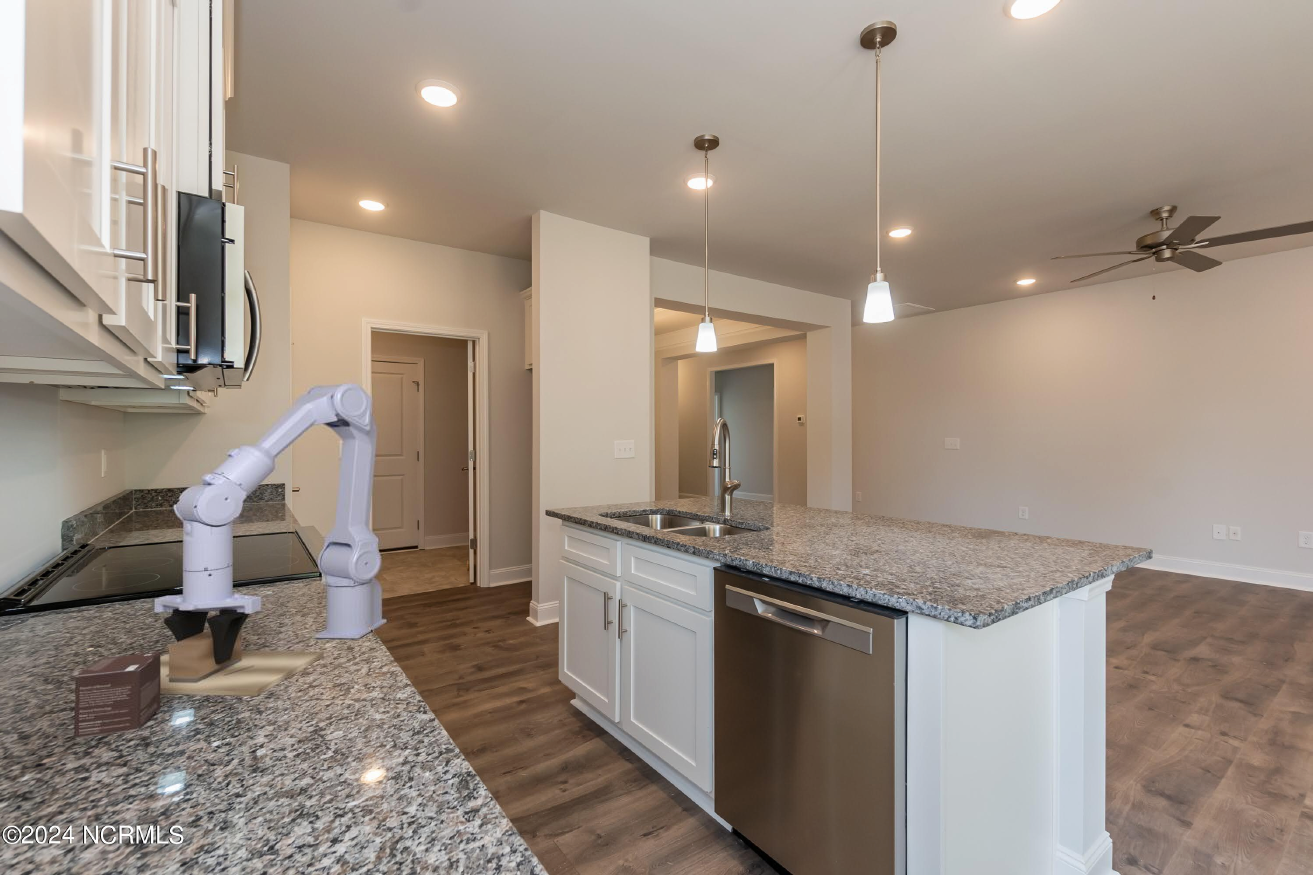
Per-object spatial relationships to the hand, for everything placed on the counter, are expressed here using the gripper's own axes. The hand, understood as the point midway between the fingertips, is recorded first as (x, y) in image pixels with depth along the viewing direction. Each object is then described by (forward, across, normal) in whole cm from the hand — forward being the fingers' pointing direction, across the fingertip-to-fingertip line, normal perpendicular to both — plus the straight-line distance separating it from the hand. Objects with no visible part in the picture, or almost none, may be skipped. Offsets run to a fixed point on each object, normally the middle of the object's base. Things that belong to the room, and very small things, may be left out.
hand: (208, 661), depth 84 cm
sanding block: (+1, 0, 0) cm, 1 cm away
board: (+2, 0, +1) cm, 2 cm away
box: (+2, +1, -14) cm, 14 cm away
